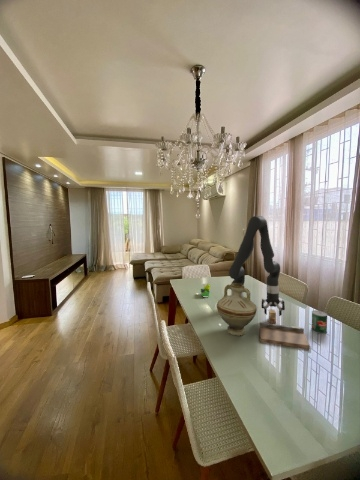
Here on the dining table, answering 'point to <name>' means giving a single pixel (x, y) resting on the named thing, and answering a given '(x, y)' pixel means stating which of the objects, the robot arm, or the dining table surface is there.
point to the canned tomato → (319, 321)
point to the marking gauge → (272, 316)
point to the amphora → (236, 309)
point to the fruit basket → (205, 290)
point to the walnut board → (283, 335)
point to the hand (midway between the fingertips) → (272, 314)
